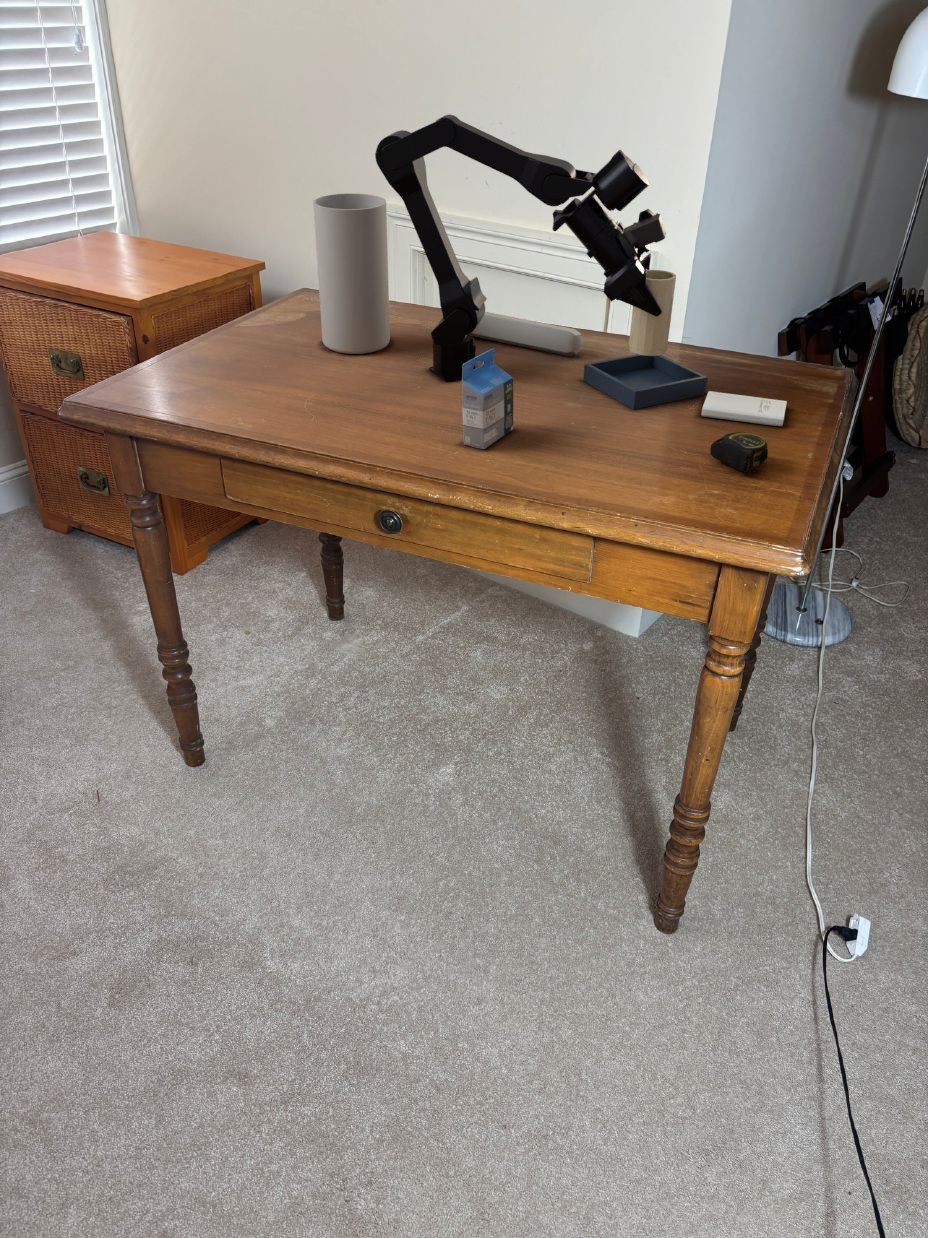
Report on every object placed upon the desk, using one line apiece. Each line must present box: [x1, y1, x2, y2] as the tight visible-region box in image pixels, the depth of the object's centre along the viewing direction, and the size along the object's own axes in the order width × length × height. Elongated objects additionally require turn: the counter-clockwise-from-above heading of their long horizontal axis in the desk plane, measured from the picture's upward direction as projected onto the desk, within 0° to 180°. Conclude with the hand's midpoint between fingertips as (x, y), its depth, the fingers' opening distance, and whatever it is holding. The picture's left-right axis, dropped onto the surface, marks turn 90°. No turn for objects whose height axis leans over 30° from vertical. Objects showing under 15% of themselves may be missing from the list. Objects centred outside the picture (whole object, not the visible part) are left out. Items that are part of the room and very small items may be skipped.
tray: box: [582, 354, 708, 410], centre depth 165 cm, size 15×15×3 cm
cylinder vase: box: [312, 192, 391, 355], centre depth 176 cm, size 12×12×25 cm
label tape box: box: [461, 347, 515, 450], centre depth 144 cm, size 9×4×12 cm, turn 148°
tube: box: [468, 311, 583, 357], centre depth 182 cm, size 5×5×25 cm
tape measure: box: [709, 431, 769, 473], centre depth 139 cm, size 7×7×4 cm
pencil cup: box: [628, 269, 677, 356], centre depth 158 cm, size 6×6×12 cm
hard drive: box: [700, 390, 788, 427], centre depth 156 cm, size 2×8×12 cm
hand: (660, 308), depth 157 cm, fingers closed on pencil cup, 6 cm apart
